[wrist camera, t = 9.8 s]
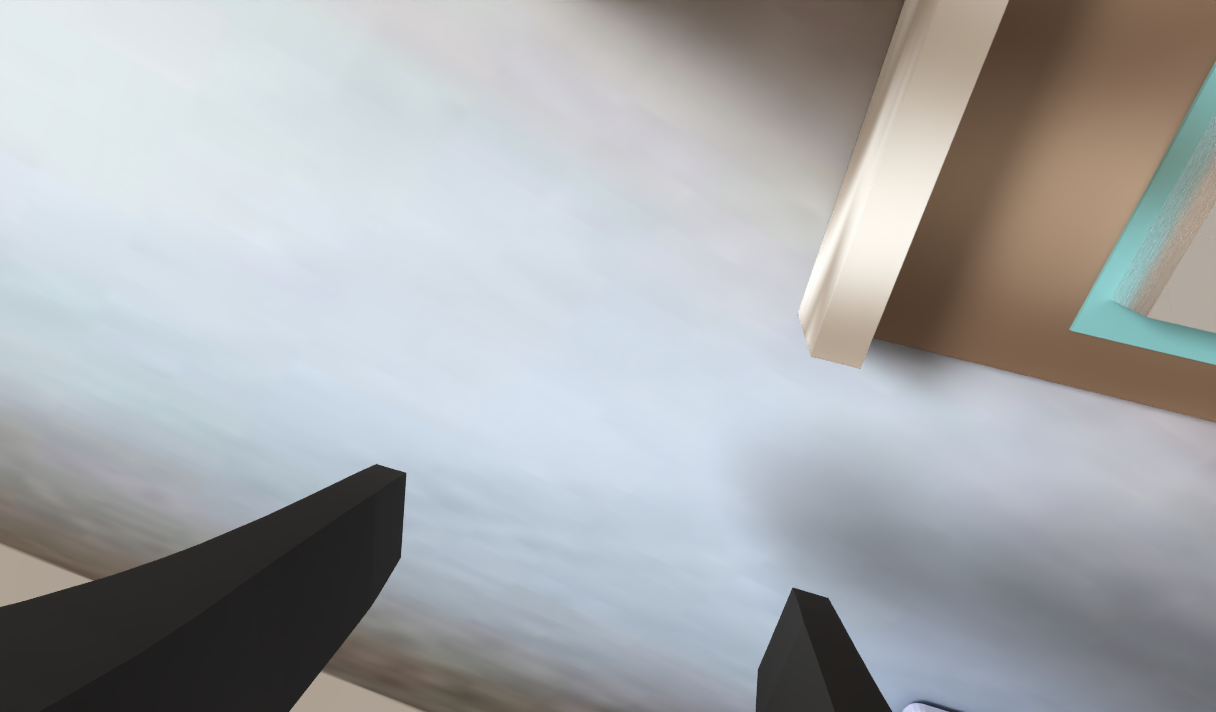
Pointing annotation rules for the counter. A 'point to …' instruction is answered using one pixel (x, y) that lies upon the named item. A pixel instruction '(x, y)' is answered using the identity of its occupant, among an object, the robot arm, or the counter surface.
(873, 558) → the counter surface
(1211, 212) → the aluminium bracket
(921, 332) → the corner arena
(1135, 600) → the counter surface
